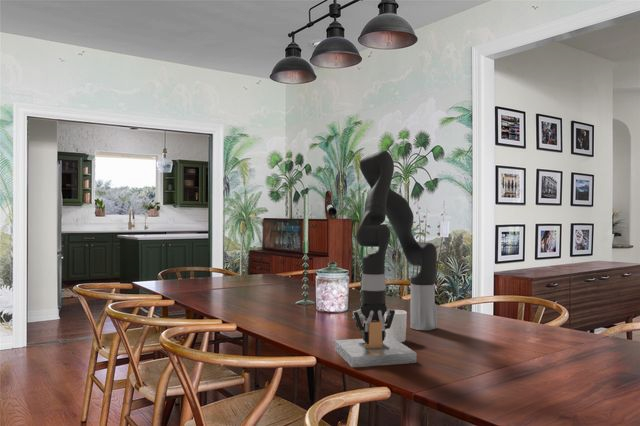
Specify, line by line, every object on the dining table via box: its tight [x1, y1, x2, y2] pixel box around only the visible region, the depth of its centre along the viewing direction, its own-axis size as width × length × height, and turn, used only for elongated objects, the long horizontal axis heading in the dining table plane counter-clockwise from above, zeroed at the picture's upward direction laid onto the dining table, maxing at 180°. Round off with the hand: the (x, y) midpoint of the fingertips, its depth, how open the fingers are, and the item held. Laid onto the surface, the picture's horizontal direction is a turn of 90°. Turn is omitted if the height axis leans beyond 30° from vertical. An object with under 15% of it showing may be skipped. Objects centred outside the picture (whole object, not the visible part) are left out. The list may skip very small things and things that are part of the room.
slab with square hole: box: [334, 336, 417, 368], centre depth 159 cm, size 20×20×3 cm
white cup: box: [383, 309, 408, 343], centre depth 179 cm, size 8×8×10 cm
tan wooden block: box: [366, 320, 382, 348], centre depth 159 cm, size 4×4×9 cm
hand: (373, 342), depth 159 cm, fingers closed on tan wooden block, 4 cm apart
